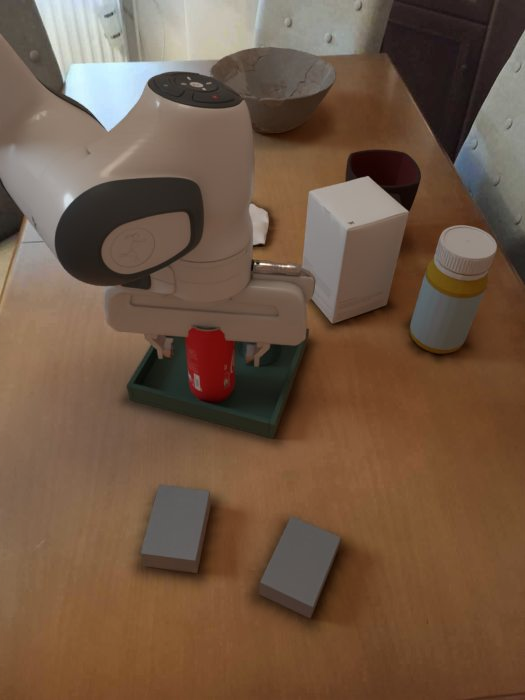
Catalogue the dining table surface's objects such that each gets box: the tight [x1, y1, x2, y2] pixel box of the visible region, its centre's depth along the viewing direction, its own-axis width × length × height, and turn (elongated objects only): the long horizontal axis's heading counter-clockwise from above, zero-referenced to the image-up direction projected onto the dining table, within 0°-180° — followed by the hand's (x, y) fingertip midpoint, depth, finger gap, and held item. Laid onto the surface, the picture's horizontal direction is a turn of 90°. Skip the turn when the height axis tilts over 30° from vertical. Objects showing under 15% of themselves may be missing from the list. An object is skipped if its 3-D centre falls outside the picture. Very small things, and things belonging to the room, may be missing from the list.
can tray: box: [126, 327, 310, 439], centre depth 71 cm, size 17×15×3 cm
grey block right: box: [258, 515, 342, 619], centre depth 54 cm, size 5×7×3 cm
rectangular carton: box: [301, 176, 410, 325], centre depth 76 cm, size 9×9×15 cm
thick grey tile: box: [140, 484, 212, 574], centre depth 56 cm, size 5×7×3 cm
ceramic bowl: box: [209, 46, 337, 134], centre depth 111 cm, size 22×23×10 cm
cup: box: [344, 148, 422, 213], centre depth 85 cm, size 10×14×12 cm
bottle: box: [409, 224, 498, 355], centre depth 71 cm, size 7×7×15 cm
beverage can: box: [185, 325, 235, 404], centre depth 65 cm, size 5×5×12 cm
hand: (209, 358), depth 65 cm, fingers open, 8 cm apart
